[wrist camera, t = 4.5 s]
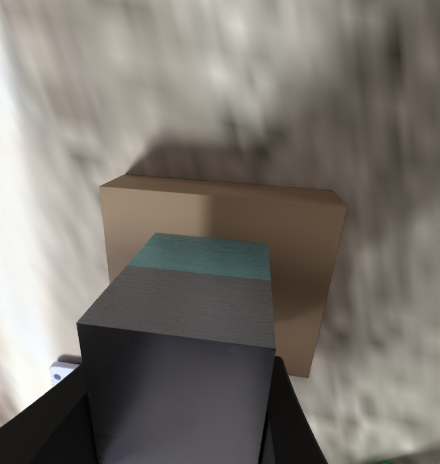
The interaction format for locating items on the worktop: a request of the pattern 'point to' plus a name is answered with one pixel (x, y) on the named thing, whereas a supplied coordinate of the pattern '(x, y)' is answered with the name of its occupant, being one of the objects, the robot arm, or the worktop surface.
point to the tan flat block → (244, 229)
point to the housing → (182, 353)
